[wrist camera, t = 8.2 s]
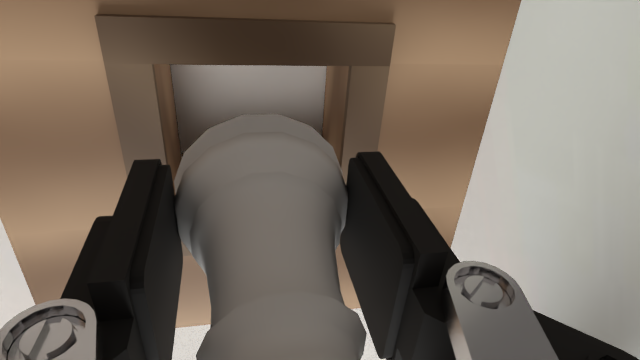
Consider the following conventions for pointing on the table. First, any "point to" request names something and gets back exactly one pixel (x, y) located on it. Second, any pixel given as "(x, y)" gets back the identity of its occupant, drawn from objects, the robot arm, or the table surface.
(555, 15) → the table surface
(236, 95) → the table surface
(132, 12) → the walnut board
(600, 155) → the table surface
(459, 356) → the robot arm
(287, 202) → the rook chess piece
